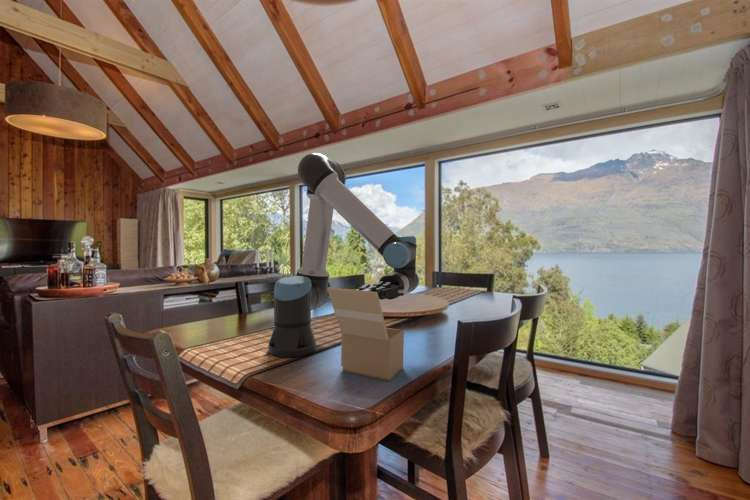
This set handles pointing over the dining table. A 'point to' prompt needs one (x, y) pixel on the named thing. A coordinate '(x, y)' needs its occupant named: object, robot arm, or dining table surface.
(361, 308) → the flap
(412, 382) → the dining table surface
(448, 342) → the dining table surface
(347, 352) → the carton
